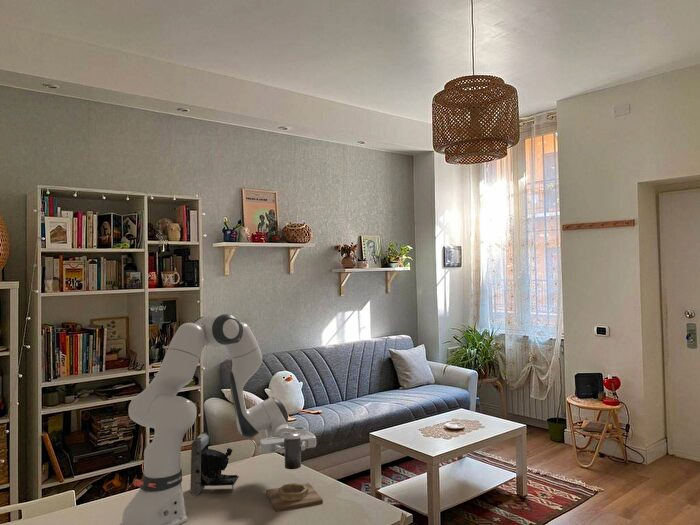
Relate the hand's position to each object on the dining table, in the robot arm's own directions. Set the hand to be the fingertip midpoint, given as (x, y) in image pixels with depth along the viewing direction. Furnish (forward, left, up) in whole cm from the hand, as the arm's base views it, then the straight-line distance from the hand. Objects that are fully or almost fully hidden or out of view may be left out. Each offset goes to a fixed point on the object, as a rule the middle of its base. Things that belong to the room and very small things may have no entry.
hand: (293, 449), depth 184 cm
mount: (+1, +1, -17) cm, 17 cm away
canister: (+1, +1, -6) cm, 6 cm away
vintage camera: (-3, +31, -17) cm, 35 cm away
